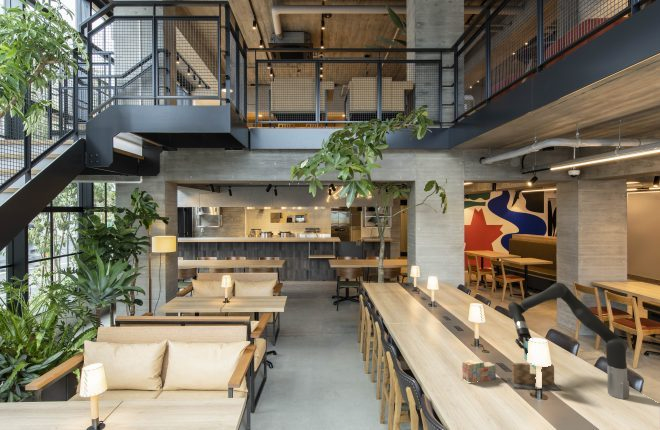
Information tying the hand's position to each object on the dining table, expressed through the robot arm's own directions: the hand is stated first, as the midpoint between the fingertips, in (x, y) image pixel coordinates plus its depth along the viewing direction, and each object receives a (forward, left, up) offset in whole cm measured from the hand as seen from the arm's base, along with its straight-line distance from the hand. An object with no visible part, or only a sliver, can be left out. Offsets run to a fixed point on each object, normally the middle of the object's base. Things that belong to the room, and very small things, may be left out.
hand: (530, 354), depth 235 cm
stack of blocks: (+17, +27, -18) cm, 36 cm away
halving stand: (-4, +2, -18) cm, 18 cm away
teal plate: (-3, +2, -5) cm, 6 cm away
